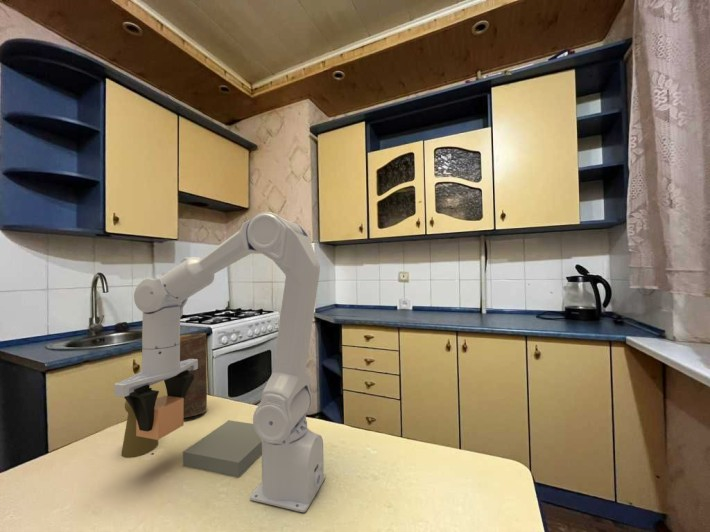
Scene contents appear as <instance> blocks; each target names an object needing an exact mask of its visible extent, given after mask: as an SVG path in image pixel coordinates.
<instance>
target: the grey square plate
mask: <svg viewBox="0 0 710 532" xmlns="http://www.w3.org/2000/svg"><path fill="white" fill-rule="evenodd" d="M260 457H262V442H261V438H260V437H259V436H258V435H257V433H256V431H255V429H254V425H253V423H250V422H244V421H238V420H230V419H229V420H227V421H225V422H224V423H223V424H221V425H220V426H218V427H217V428H216V429H214V430H212V431H210V432H209V433H208V434H206V435H205V436H204V437H202V438H201V439H200V440H197V442H195V443H194V444H192V445H190V446H189V447H187V449H185V450H184V451H182V467H187V468H190V469H195V470H200V471H205V472H210V473H214V474H220V475H224V476H228V477H233V478H237V479H238V478H239V479H240V477H241V476H242V475H243V474H244V473H245V472H246V471H247V470H248V469H249V468H250V467H251V466H252V465H253V464H254V463H255V462H256V461H257V460H258V459H259V458H260Z"/></svg>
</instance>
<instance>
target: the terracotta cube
mask: <svg viewBox="0 0 710 532" xmlns="http://www.w3.org/2000/svg"><path fill="white" fill-rule="evenodd" d="M183 409H184V398H180V397H172V396H167V395H164V394H162V395H160V396H157V399H156V402H155V407H154V420H153V427H152V430H150V431H148V432H147V431H142V430H139V426H138V422H137V419H136V436H140V437H145V438H150V439H156V440H158V441H159V440H160V439H162V438H164V437H166V436H168V435H169V434H171V433H173V432H174V431H176V430H178V429H179V428H182V427H183V426H184V417H183Z"/></svg>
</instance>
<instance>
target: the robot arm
mask: <svg viewBox="0 0 710 532" xmlns="http://www.w3.org/2000/svg"><path fill="white" fill-rule="evenodd" d="M252 254H253V255H254V254H257V255H258V254H261V255H263V256H265V257H267V258H269V259H270V260H272V261H273V263H274V264H276V266H277V267H278V268H279V270H281V271H282V273H283V274H284V276H285V280H284V281H285V282H284V285H283V286H284V287H283V295H282V301H281V310H280V316H279V324H278V331H277V338H276V344H275V352H274V358H273V359H274V360H273V366H272V372H271V374H270V377H269V378H268V381H267V383H266V385H264V388H263V390H262V393H261V399H260V403H259V405H258V406H257V407H256V408H255V410H254V412H253V418H252V424H253V425H254V429H255V431H256V433H257V435H258V436H259V437H260V438H261V442H262V455H261V483H259V485H258V486H257V487H256V488H255V489H254V490H253V492H252V493H251V494H250V495H249V499H250V500H251V501H253V502H258V503H262V504H266V505H271V506H275V507H279V508H282V509H288V510H292V511H296V512H301V513H305V512H307V511H308V508H309V507H310V505H311V503H312V502H313V500H314V499H315V497H316V494H317V493H318V491H319V489H320V488H321V486H322V484H323V482H324V480H325V479H326V473H324V470H325V469H324V466H325V465H324V461H325V460H324V459H325V458H324V440H323V437H322V436H321V434H318V433H315V432H313V431H312V430H310V429H309V427H308V421H307V413H308V412H309V411H310V409H311V407H312V405H313V395H312V392H311V388H310V381H311V376H310V375H309V374H308V373H307V363H308V358H309V350H310V343H311V336H312V329H313V323H314V322H313V321H314V314H315V313H314V312H315V309H316V308H315V307H316V302H317V301H316V300H317V294H318V286H319V279H320V270H321V269H320V267H321V266H320V263H319V260H318V258H317V256H316V255H317V254H316V253H315V250H314V247H313V246H312V243H311V235H310V234H309V233H308V232H307V231H306V230H305V229H304V228H303V227H302V226H301V225H300V224H298V223H297V222H294V221H290V220H289V219H288V220H287V219H285V218H283V217H282V216H279V215H278V214H276V213H274V212H270V211H263V212H260V213H258V214H256V215H255V216H254V217H252V219H249V220H246V221H244V222H243V223H242V225H241V227H240V228H239V230H237V231H236V232H235V233H234V234H232V235H231V236H230V237H229V238H227V239H226V240H224V241H223V242H221V244H219V245H218V246H216V247H215V248H213V249H212V250H211V251H210V252H208V253H207V254H205V255H204V256H203V257H198V256H191V257H188V256H185V257H183V258H182V259H181V260H180V264H178V265H177V266H175V267H173V268H172V269H171V270H169V271H164V272H162V273H161V276H159V277H158V278H145V279H142V280H141V281H140V283H138V284H137V286H136V287H135V290H134V294H133V300H134V303H135V306H136V308H137V309H138V310H139V311H140V312H142V331H141V333H142V334H141V335H142V337H141V338H142V339H141V344H142V345H141V346H142V347H141V350H142V351H141V353H142V354H141V369H140V372H139V373H137V374H135V375H132V376H130V377H128V378H126V379H124V380H121V381H119V382H115V383H114V390H113V391H114V397H119V398H124V399H125V401H126V400H127V402H128V403H129V405H130V406H131V408H132V410H133V412H134V414H135V416H136V419H137V422H138V426H139V430H142V431H147V432H148V431H150V430H152V427H153V420H154V407H155V402H156V399H157V398H158V397H159V393H160V390H154V389H153V388H152V387H151V386H152V385H153V386H154V385H155V384H158V383H161V382H163V381H164V385H165V389H166V396H172V397H180V398H184V399H185V396H186V393H187V391H188V389H189V387H190V385H191V383H192V381H193V380H194V374H193V373H189V371H190V370H196V369H198V359H188V360H184V361H180V336H181V318H182V316H183V314H184V307H185V305H186V304H187V302H188V300H189V298H190V297H192V296H194V295H196V294H197V293H198V292H201V290H203V289H205V288H206V287H208V286H211V284H213V282H214V280H215V275H216V273H218V272H221V271H222V270H224V269H225V268H227V267H230V266H231V265H232V264H233V265H234V264H235V263H237V262H238V261H240V260H241V259H244V258H246V257H247V256H249V255H252Z"/></svg>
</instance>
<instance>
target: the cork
mask: <svg viewBox="0 0 710 532" xmlns="http://www.w3.org/2000/svg"><path fill="white" fill-rule="evenodd" d="M124 409H125V412H126V413H127V418H126V425H125V430H124V437H123V442H122V449H121V454H120V456H121V457H123V458H125V459H127V458H129V459H130V458H131V459H132V458H137V457H141V456H143V455H146V454H149V453H151V452H152V451H154V450H155V449H156V448H157V447H158V446H159V440H156V439H150V438H145V437H140V436H136V416H135V414H134V412H133V410H132V408H131V406H130V405H129V403H128V402H127V400H126V399H125V402H124Z"/></svg>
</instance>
